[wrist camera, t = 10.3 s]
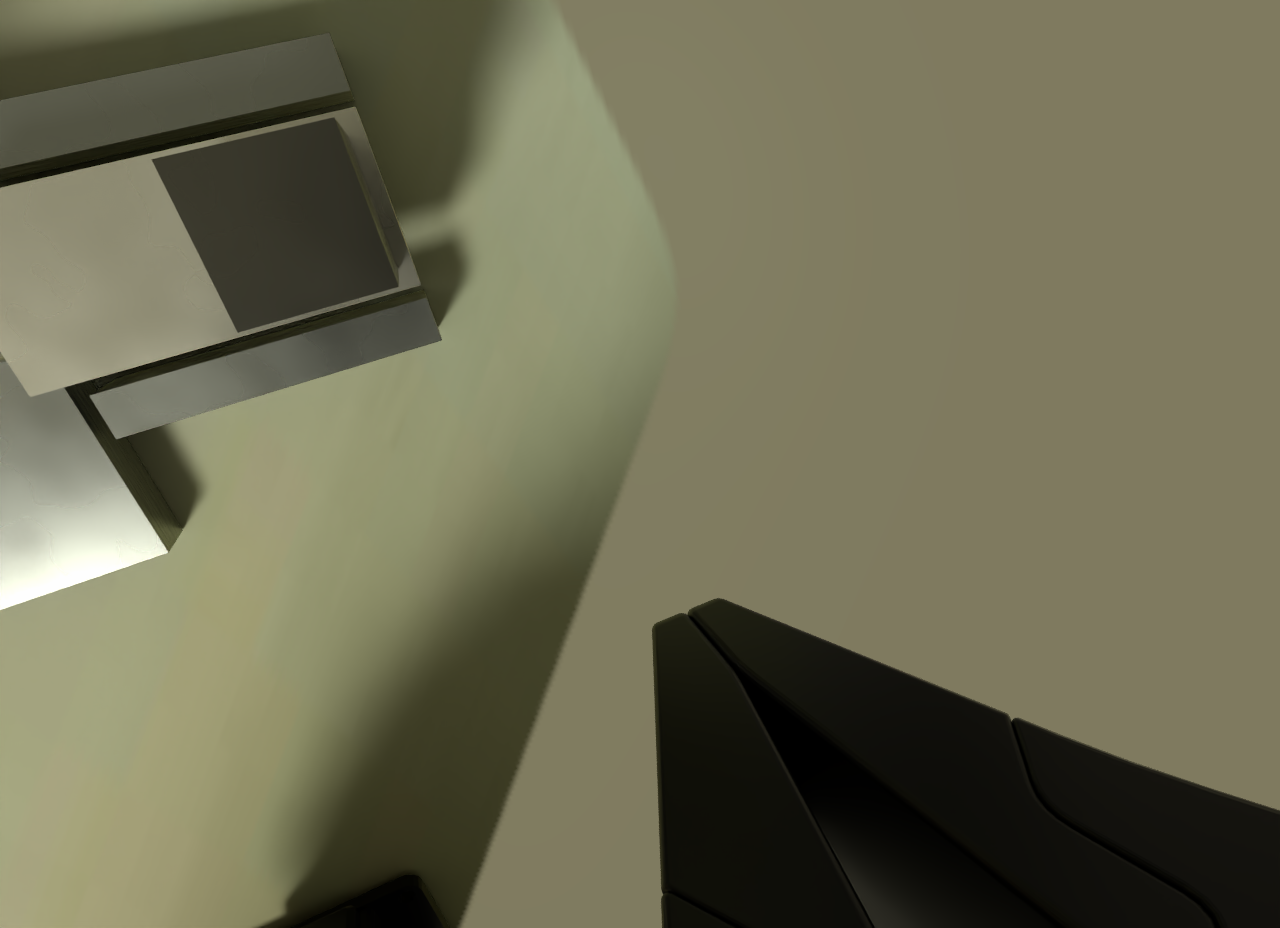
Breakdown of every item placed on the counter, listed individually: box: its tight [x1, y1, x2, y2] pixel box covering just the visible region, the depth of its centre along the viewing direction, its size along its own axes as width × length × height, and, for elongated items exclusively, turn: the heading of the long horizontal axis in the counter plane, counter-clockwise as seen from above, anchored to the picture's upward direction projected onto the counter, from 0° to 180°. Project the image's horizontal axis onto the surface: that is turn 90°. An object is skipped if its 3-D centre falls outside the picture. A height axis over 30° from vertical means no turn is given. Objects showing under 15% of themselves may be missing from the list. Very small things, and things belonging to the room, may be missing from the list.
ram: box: [0, 107, 421, 397], centre depth 11 cm, size 3×9×5 cm, turn 104°
